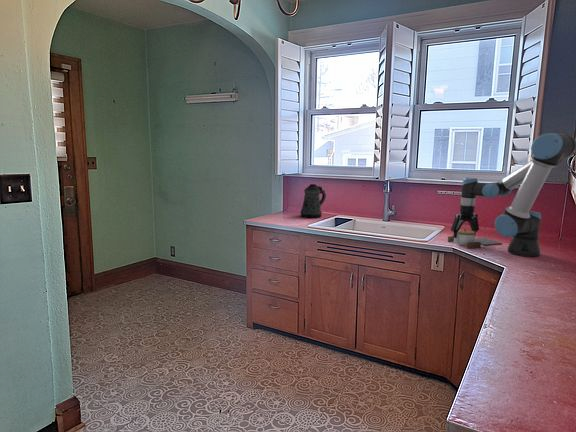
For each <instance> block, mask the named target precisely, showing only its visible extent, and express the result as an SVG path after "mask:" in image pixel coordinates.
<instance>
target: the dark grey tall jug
mask: <svg viewBox="0 0 576 432" xmlns="http://www.w3.org/2000/svg"><path fill="white" fill-rule="evenodd" d="M320 195H321V196H322V197H321V199H320ZM326 196H327V194H326V191H325V190H324V189H323V187H322V186H319V185H317V184H313V183H310V184H309V185H308V186H307V187H306V188H305V189H304V197H303V202H302V207H301V209H300V217H301V218H304V219H321V217H322V214H323V213H322V210H321V206H322V205H323V204H324V202H325V200H326V198H327V197H326Z"/></svg>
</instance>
